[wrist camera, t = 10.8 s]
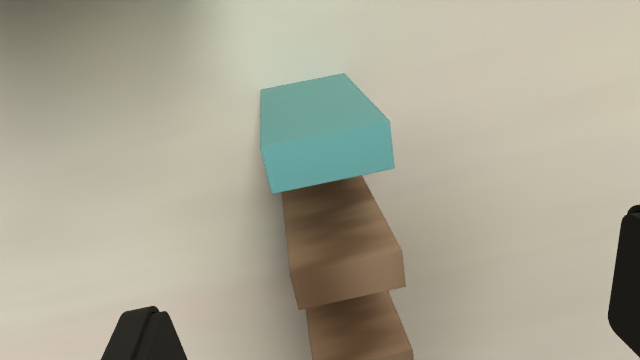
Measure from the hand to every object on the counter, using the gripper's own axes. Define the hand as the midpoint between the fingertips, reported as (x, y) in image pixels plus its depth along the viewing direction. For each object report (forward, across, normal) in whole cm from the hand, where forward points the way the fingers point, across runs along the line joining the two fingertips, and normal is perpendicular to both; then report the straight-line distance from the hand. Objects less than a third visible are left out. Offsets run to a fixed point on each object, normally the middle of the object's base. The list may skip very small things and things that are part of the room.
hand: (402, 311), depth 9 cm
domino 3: (+19, +1, +12) cm, 22 cm away
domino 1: (+19, 0, 0) cm, 19 cm away
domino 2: (+19, +1, +6) cm, 20 cm away
